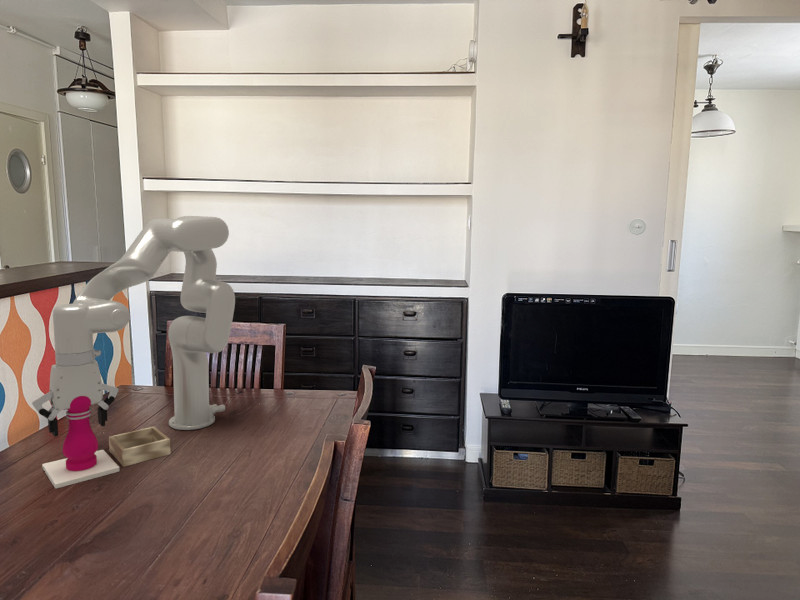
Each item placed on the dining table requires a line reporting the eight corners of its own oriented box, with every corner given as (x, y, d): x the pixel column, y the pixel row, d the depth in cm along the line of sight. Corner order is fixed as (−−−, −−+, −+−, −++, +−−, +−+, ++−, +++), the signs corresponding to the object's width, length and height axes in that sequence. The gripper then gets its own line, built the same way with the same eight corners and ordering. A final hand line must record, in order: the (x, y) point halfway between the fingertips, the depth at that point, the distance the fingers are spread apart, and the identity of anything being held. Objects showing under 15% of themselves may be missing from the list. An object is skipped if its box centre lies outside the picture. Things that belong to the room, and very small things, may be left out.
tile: (103, 453, 136) (102, 449, 135) (119, 471, 126) (119, 467, 126) (42, 468, 127) (42, 464, 126) (55, 488, 117) (55, 484, 117)
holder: (154, 440, 144) (154, 426, 144) (170, 454, 136) (170, 439, 136) (109, 451, 137) (108, 436, 136) (123, 466, 129) (122, 450, 128)
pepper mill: (83, 474, 122) (78, 389, 119) (55, 470, 124) (50, 386, 121) (106, 460, 129) (102, 380, 126) (80, 457, 131) (75, 377, 128)
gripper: (111, 349, 131) (114, 416, 134) (26, 360, 119) (31, 433, 122) (121, 355, 126) (124, 425, 128) (33, 367, 114) (38, 444, 117)
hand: (79, 429), depth 125 cm, fingers open, 9 cm apart
